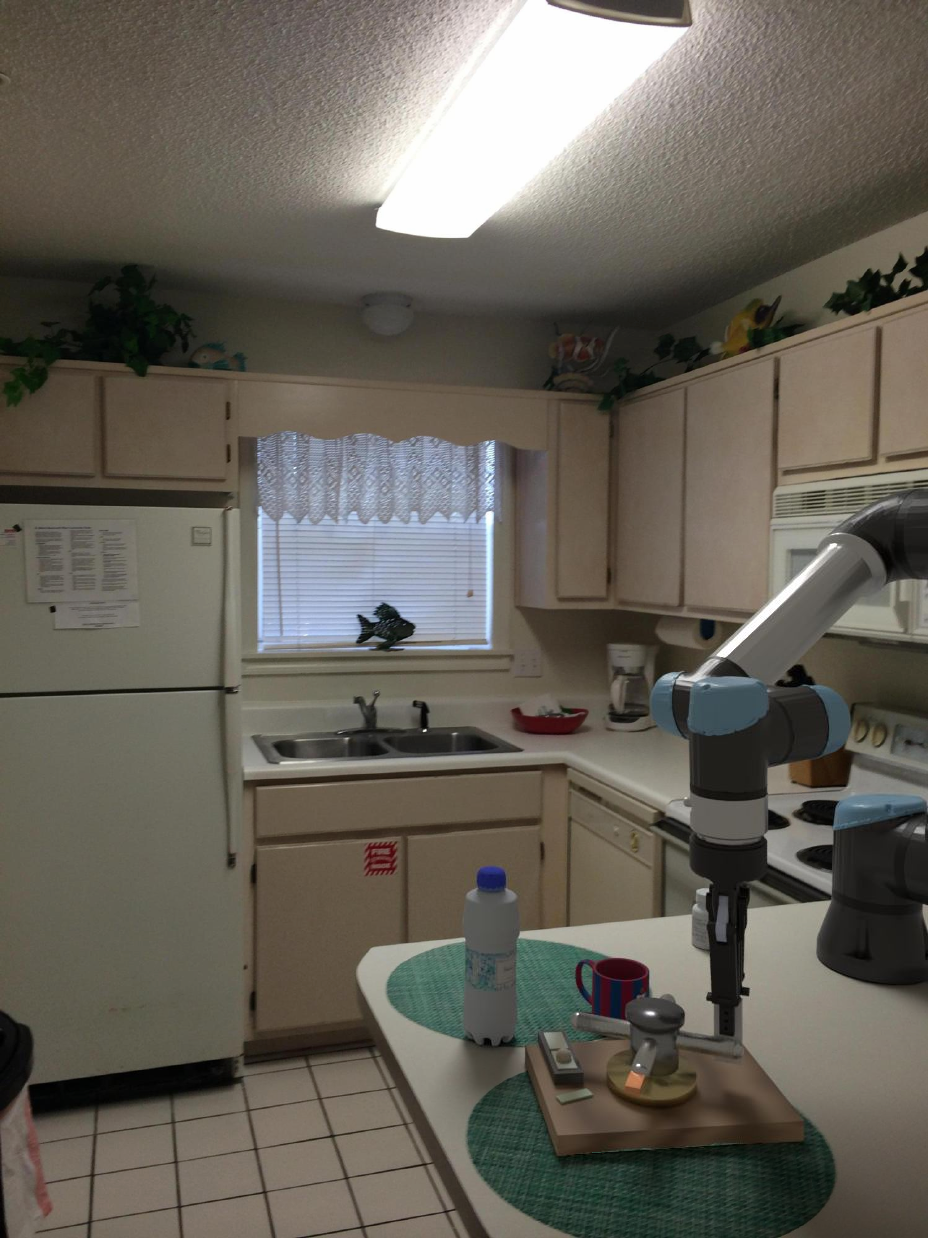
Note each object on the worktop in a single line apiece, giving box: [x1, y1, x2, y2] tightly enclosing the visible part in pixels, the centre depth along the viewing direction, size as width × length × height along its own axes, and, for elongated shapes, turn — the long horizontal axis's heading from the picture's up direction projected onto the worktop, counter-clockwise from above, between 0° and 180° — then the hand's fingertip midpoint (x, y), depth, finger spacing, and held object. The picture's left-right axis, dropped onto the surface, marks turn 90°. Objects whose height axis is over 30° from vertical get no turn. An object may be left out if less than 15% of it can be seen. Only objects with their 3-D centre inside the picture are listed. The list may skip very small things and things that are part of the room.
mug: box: [574, 957, 651, 1021], centre depth 118 cm, size 7×10×7 cm
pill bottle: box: [691, 887, 709, 951], centre depth 141 cm, size 4×4×8 cm
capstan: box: [569, 993, 744, 1107], centre depth 100 cm, size 18×20×7 cm
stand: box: [524, 1029, 805, 1157], centre depth 101 cm, size 24×18×4 cm
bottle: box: [461, 865, 522, 1047], centre depth 113 cm, size 7×7×20 cm
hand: (728, 1060), depth 100 cm, fingers closed
